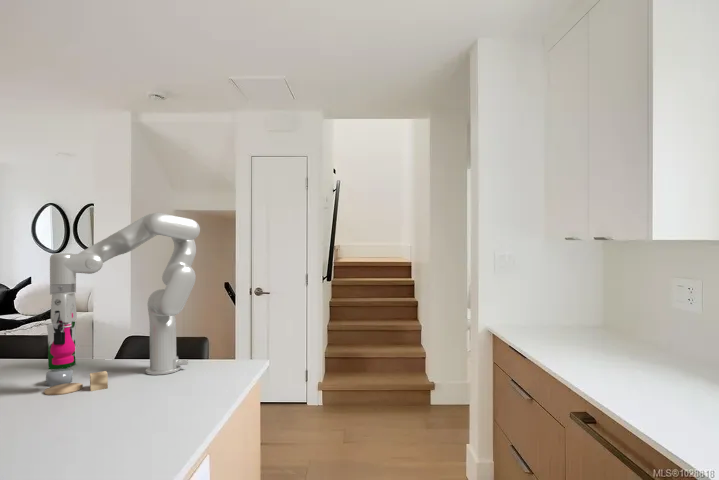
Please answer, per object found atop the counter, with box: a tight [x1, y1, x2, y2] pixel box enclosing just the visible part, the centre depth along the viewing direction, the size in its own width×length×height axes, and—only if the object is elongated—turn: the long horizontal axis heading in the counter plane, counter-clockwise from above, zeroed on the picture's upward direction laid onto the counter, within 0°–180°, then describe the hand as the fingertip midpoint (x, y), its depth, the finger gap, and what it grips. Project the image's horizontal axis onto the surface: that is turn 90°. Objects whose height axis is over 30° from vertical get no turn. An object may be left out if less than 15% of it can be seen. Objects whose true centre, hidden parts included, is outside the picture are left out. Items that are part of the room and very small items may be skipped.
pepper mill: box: [50, 313, 76, 365], centre depth 156 cm, size 7×7×20 cm
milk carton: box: [46, 320, 77, 370], centre depth 188 cm, size 9×9×20 cm
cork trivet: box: [43, 382, 84, 396], centre depth 156 cm, size 11×11×1 cm
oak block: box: [89, 370, 109, 392], centre depth 158 cm, size 5×5×5 cm
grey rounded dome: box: [45, 368, 74, 387], centre depth 165 cm, size 8×8×4 cm
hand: (63, 342), depth 156 cm, fingers closed on pepper mill, 5 cm apart
